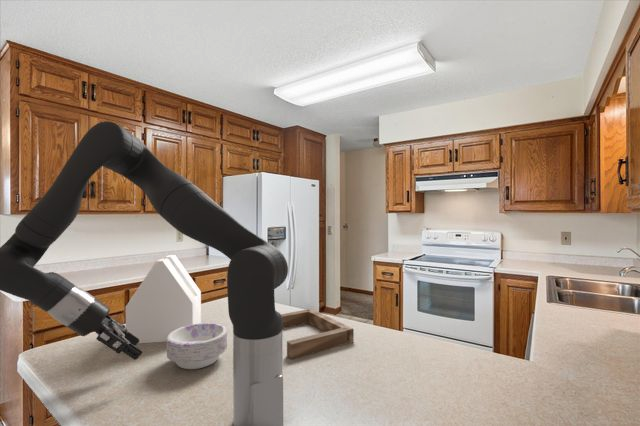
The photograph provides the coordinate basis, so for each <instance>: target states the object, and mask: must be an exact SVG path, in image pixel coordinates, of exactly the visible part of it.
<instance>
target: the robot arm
mask: <svg viewBox="0 0 640 426" xmlns="http://www.w3.org/2000/svg"><path fill="white" fill-rule="evenodd" d="M102 167H104V168H106V169H108V170H111V171H112V172H114V173H116V174H118V175H120V176H122V177H124V178H125V179H127V180H129V181H130V182H132V183H133V184H134V185H135V186H136V187H138V188H139V189H140V190H142V192H143V193H144V194H145V195H146V197H147V199H148V201H149V203H150V205H151V206H152V207H153V209H154V210H155V212H157V214H158V215H159V216H160V217H162V219H164V220H165V222H167V223H168V224H169V225H170V226H172V227H173V228H174V229H175V230H176V231H178V232H180V233H181V234H183V235H184V236H186V237H188V238H190V239H193V240H194V241H196V242H199V243H201V244H204V245H205V246H208V247H209V248H210V247H211V248H213V249H214V250H217V251H218V252H220V253H222V254H223V255H224V256H225V257H227V258H229V260H230V261H229V264H228V267H227V274H226V285H227V286H226V289H227V306H228V307H227V308H228V309H227V310H228V316H229V320H230V321H231V324H232V333H233V334H232V335H233V337H232V338H233V339H232V342H233V346H232V347H233V349H232V352H233V353H232V354H233V355H232V356H233V357H232V359H233V360H232V361H233V362H232V363H233V366H232V367H233V368H232V370H233V371H232V372H233V374H232V377H233V378H232V379H233V381H232V384H233V386H232V387H233V393H232V394H233V398H232V399H233V401H232V402H233V410H232V411H233V426H284V377H283V328H282V316H281V312H278V311H277V310H276V305H275V303H276V301H275V289H276V290H277V288H279V287H280V286H281V285H282V284H283V283H284V282H285V281H286V279H287V277H288V274H289V265H288V262H287V259H286V257H285V256H284V254H283V253H282V251H281V250H280V249H278V247H276V246H274V245H272V244H271V243H270V242H268V241H267V240H265V239H264V238H262V237H260V236H259V235H257V234H255V233H254V232H252V231H251V230H249V229H248V228H247V227H245V226H244V225H243V224H242V223H240V222H239V221H238V220H237V219H236V218H234V217H233V216H232V215H231V213H229V212H227V211H226V209H224V208H223V207H222V206H220V205H219V204H218V203H217V202H215V200H213V199H212V198H211V197H210V196H208V194H207V193H206V192H204V191H203V190H202V189H200V188H199V187H198V186H197V185H196V184H194V183H193V182H191V181H190V180H189V179H187V177H184V176H183V175H181V174H180V173H178V172H176V171H174V170H172V169H171V168H169V167H168V166H166V165H165V164H164V163H163V162H162V161H161V160H160V159H159V158H158V157H157V156H156V155H155V154H154V153H153V152H152V151H151V150H150V149H149V148H148V147H147V146H146V144H145V143H143V141H141V139H140V138H139V137H137V136H136V135H134V134H132V133H131V132H129V130H127V129H125V128H124V127H123V126H121V125H119V124H118V123H116V122H113V121H109V120H108V121H107V120H106V121H101V122H98V123H96V124H94V125H93V126H91V127H90V128H89V129H88V130H87V132H86V133H85V134H84V135H83V136H82V137H81V139H80V140H79V142H78V144H77V145H76V147H75V149H74V150H73V151H72V153H71V154H70V156H69V157H68V159H67V161H66V163H65V164H64V166H63V167H62V168H61V171H60V172H59V173H58V175H57V176H56V178H55V180H54V181H53V183H52V184H51V186H50V187H49V189H48V190H47V191H46V192H45V193H44V195H43V196H42V197H41V198H40V200H39V201H37V202H36V204H35V205H34V206H33V207H31V209H30V211H29V212H28V213H27V214H26V215H25V216H24V217H23V218H22V219H21V220H20V221H19V222H18V224H17V225H16V227H15V229H14V233H13V234H12V235H11V236H10V237H9V239H8V240H7V241H5V243H4V244H2V245H1V246H0V291H1V292H4V293H7V294H9V295H12V296H15V297H17V298H21V299H24V300H27V301H29V302H31V303H32V304H33V305H35V306H36V307H38V308H40V309H41V310H42V311H45V312H46V313H47V314H49V315H50V316H51V318H53V319H55V321H57V322H59V323H61V324H62V325H63V326H65V327H66V328H67V329H70V330H72V331H73V332H74V333H76V334H77V335H79V336H80V337H86V336H87V335H90V333H91V332H95V333H96V334H97V337H96V340H97V341H98V342H99V343H101V344H103V345H104V346H105V347H108V348H109V349H110V350H112V351H113V352H115V353H116V354H118V355H119V354H121V353H123V354H125V355H126V356H128V357H129V358H131V359H133V360H134V361H135V360H138V359H139V358H140V357H141V355H142V354H143V350H141V348H139V347H138V346H137V345H138V344H139V343H138V342H139V339H138V338H137V337H136V336H134V335H133V334H131V333H130V332H127V331H128V330H127V329H126V324H122V323H121V322H119V321H118V320H117V319H115V318H114V317H112V316H111V315H110V314H109V313H110V310H111V309H110V307H109V306H108V305H107V304H105V303H104V302H102V301H101V300H99V299H97V298H96V297H95V296H93V295H92V294H90V293H89V292H88V291H86V290H84V289H83V288H81V287H78V286H77V285H75V284H74V283H72V282H71V281H69V280H68V279H67V278H65V277H64V276H62V275H61V274H59V273H57V272H54V271H50V272H43V271H42V270H40V269H38V268H36V267H35V266H36V265H37V264H38V263H39V261H40V260H41V259H42V258H43V256H44V255H45V253H46V252H47V250H48V249H49V248H50V246H52V245H53V244H54V242H56V241H57V239H59V238H60V237H61V235H62V234H63V233H64V232H65V231H66V230H67V229H68V228H69V227H70V226H71V224H72V223H73V222H74V220H75V219H76V218H77V215H78V214H79V212H80V208H81V204H82V199H83V195H84V191H85V188H86V186H87V184H88V182H89V181H90V179H91V178H92V177H93V175H94V174H95V173H96V172H97V171H98V170H99V169H101V168H102ZM119 343H120V345H118V344H119Z"/></svg>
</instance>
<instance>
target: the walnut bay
mask: <svg viewBox="0 0 640 426" xmlns="http://www.w3.org/2000/svg"><path fill="white" fill-rule="evenodd" d="M280 314H281V313H280ZM281 316H282V329H285V328H290V327H291V328H292V327H296V326H300V325H304V324H303V323H305V324H310V325H312V326H314V327H316V328H318V329H320V330H321V331H323V332H320V333H317V334H316V333H315V334H311V335H307V336H304V337H299V338H294V339H291V340H286V356H287V357H288V358H289V359H290V360H292V359H296V358H300V357H304V356H308V355H311V354H314V353H318V352H323V351H325V350H328V349H329V350H330V349H333V348H337V347H340V346H343V345H347V344H351V343H354V342H355V341H354V335H355V333H354V331H355V330H354V328H352V327H351V326H349V325H346V324H344V323H342V322H340V321H337V320H336V319H333V318H331V317H329V316H327V315H326V314H323V313H322V312H319V311H317V310H315V309H313V308H309V309H303V310H298V311H293V312H287V313H282V314H281ZM299 324H300V325H299ZM295 325H296V326H295Z"/></svg>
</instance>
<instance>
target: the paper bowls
mask: <svg viewBox="0 0 640 426" xmlns="http://www.w3.org/2000/svg"><path fill="white" fill-rule="evenodd" d="M166 340H167V341H166V358H167V359H168V360H170V361H171V362H173V363H176V365H177V366H178V367H179V368H181V369H185V370H197V369H202V368H206V367H208V366H211V365H212V364H214V363H216V361H217V360H218V358H219V357H220V355H223V354H224V352H225V351H226V350H227V349H228V329H227V326H224V325H223V324H221V323H220V324H219V323H216V322H215V323H214V322H201V323H199V324H192V325H188V326H184V327H181V328H179V329H176V330H174V331H173V332H171V333H170V334H169V335H168V336H167V339H166Z"/></svg>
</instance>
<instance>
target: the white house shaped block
mask: <svg viewBox="0 0 640 426" xmlns="http://www.w3.org/2000/svg"><path fill="white" fill-rule="evenodd" d="M199 323H202V292H201V289H200V288H199V287H198V285H197V284H196V282H195V281H194V280H193V278H192V276H191V275H190V274H189V273H188V271H187V270H186V269H185V266H184V265H183V263H182V262H181V261H180V260H179V259H178V256H177V255H176V254H168V255H167V256H164V257H163V258H160V259H158V260H156V261H155V262H154V263H153V265H152V267H151V268H150V270H149V271H148V273H146V276H145V277H144V279H143V280H142V281H141V283H140V285H139V286H138V288H137V290H135V292H134V293H133V294H132V296H131V298H130V299H129V301H128V303H127V304H126V305H125V327H126V329H127V330H128V331H127V332H130V333H131V334H133V335H134V336H136V337H137V338H138V339H139V342H138V343H137V344H145V343H147V344H148V343H162V342H167V340H166V339H167V336H168V335H169V334H170V333H171V332H173V331H174V330H176V329H179V328H181V327H184V326H188V325H192V324H199Z"/></svg>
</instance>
